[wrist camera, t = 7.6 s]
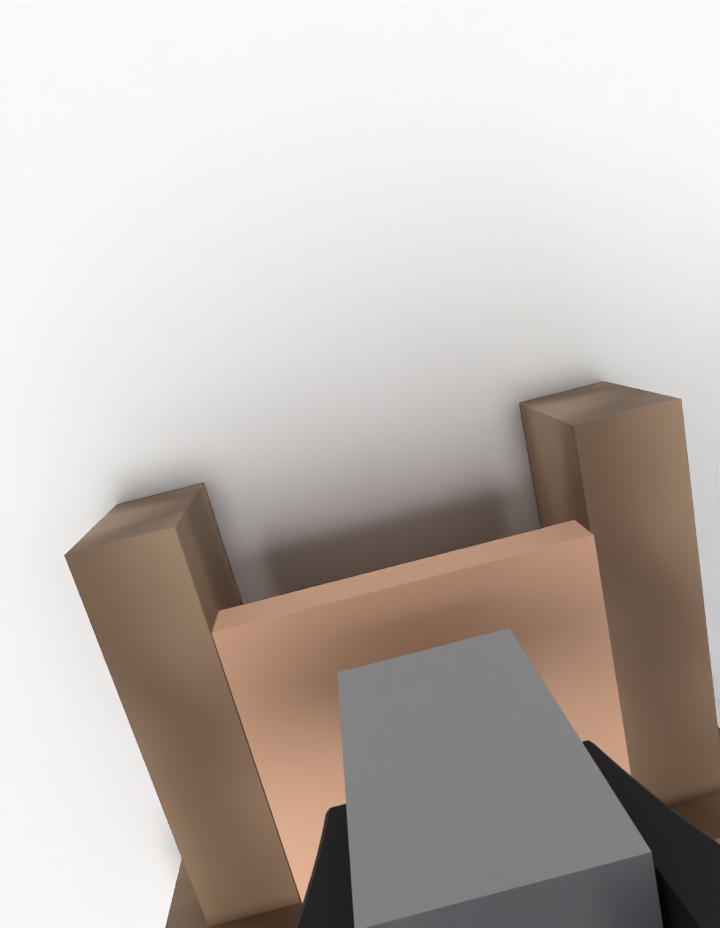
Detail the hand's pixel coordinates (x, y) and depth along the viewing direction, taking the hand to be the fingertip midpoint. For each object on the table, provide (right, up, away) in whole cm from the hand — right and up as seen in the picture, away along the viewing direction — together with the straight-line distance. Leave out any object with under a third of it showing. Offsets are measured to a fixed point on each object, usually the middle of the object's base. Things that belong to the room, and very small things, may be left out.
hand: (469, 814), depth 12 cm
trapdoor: (0, -1, +6) cm, 6 cm away
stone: (0, +1, +2) cm, 2 cm away
